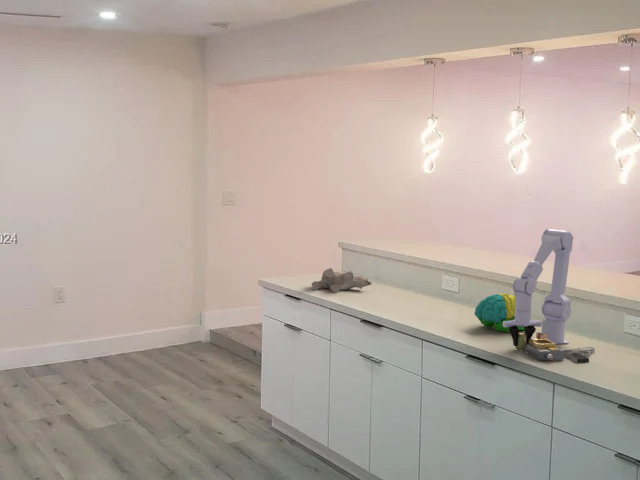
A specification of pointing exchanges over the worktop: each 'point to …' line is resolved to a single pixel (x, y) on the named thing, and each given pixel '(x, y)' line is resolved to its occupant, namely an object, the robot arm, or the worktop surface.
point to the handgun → (578, 354)
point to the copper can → (541, 335)
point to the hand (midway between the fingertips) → (520, 345)
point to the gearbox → (544, 350)
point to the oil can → (521, 341)
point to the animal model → (340, 281)
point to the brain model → (497, 311)
